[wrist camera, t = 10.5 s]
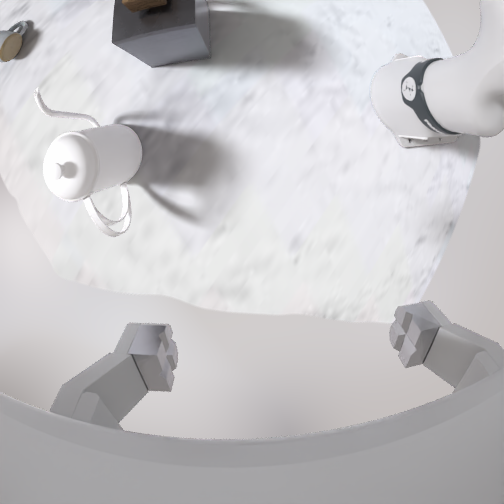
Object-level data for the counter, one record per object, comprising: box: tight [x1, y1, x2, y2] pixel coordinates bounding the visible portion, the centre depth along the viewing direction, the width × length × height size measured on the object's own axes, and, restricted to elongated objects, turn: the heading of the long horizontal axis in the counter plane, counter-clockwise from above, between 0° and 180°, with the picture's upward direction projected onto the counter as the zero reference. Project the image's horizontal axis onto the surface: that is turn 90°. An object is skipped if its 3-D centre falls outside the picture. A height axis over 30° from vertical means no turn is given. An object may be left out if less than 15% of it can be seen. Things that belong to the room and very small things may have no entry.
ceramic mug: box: [0, 21, 28, 62], centre depth 24 cm, size 11×8×8 cm
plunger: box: [122, 0, 167, 13], centre depth 24 cm, size 7×7×19 cm
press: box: [112, 0, 211, 67], centre depth 26 cm, size 10×13×16 cm
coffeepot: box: [34, 88, 142, 237], centre depth 33 cm, size 11×25×19 cm, turn 22°
